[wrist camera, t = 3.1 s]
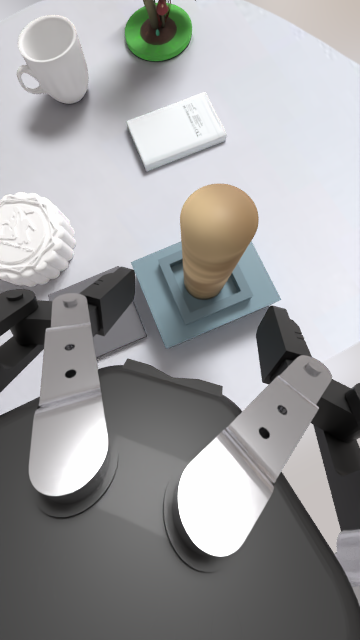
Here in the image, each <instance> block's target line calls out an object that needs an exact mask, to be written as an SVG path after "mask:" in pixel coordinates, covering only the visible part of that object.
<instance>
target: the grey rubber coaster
mask: <svg viewBox="0 0 360 640" xmlns="http://www.w3.org/2000/svg"><path fill="white" fill-rule="evenodd" d="M119 268H120V267H119V266H117V267H115V268H112V269H110V270H108V271H105V272H103V273H100V274H98V275H96V276H93V277H91V278H88V279H86V280H84V281H81V282H79V283H76V284H74V285H72V286H69V287H67V288H65V289H62V290H60V291H57V292H55V293H53V294H50V295H48V297H49V300H50V301H53V300H54V299H55V298H56V297H58V296H60V295H63V294H67V293H77V294H79V293H80V292H82V291H83V290H84V289H86V288H87V287H88V286H90V285H91V284H93V283H94V282H95V281H96V280H98V279H99V278H100V277H101V276H103V275H105V274H108V273H114V272H115V271H116V270H117V269H119ZM146 336H147V335H146V333H145V330H144V328H143V325H142V323H141V320H140V317H139V315H138V312H137V310H136V307H135V305H134V302H133V301H132V303H131V304H130V305H129V307H128V308H127V309H126V310H125V312H124V313H123V314H122V315H121V316H120V318H119V319H118V320H117V321H116V323H115V324H114V325H113V326H112V328H111V329H110V330H109V331H108V333H107V334H106V335H105V336H101V335H97V334H96V335H95V336H94V337H93V340H94V346H95V352H96V357H99V356H101V355H104V354H106V353H108V352H111V351H113V350H115V349H118V348H120V347H122V346H125V345H127V344H130V343H132V342H134V341H137V340H139V339H141V338H144V337H146Z"/></svg>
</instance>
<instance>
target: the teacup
mask: <svg viewBox="0 0 360 640" xmlns="http://www.w3.org/2000/svg"><path fill="white" fill-rule="evenodd" d="M18 49H19V51H20V53H21V55H22V56H23V58H24V60H25V61H26V64H27V65H22V66H20V67H19V68H18V70H17V77H18V80H19V82H20V84H21V86H22V87H23V88H24V89H25V90H26V91H27V92H29V93H32V94H48V95H50V96H51V97H53V98H54V99H56V100H57V101H59V102H62V103H67V104H72V103H76V102H78V101H80V100H81V99H82V98H83V96H84V95H85V93H86V91H87V88H88V69H87V64H86V61H85V57H84V54H83V50H82V47H81V44H80V41H79V38H78V35H77V32H76V29H75V26H74V25H73V23H72V22H71V21H70V20H69V19H67V18H65V17H63V16H59V15H47V16H43V17H40V18H37V19H35V20H33V21H32V22H30V23H29V24H28V25H27V26H26V27H25V28H24V29H23V30H22V32H21V33H20V36H19V38H18ZM23 73H27V74H29V75H31V76H32V77H34V78H35V79H36V80H37V81H38V82H39V87H37V88H35V89H30V88H28V87H26V86H25V85H24V84H23V82H22V79H21V75H22V74H23Z"/></svg>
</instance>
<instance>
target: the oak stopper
mask: <svg viewBox="0 0 360 640" xmlns="http://www.w3.org/2000/svg"><path fill="white" fill-rule="evenodd" d="M180 226H181V242H182V258H183V274H184V285H185V288H186V290H187V292H188V293H189V294H190V295H191V296H193V297H194V298H196V299H200V300H208V299H212V298H214V297H215V296H217V295H218V294H219V293H220V292H221V290H222V288H223V287H224V285H225V283H226V282H227V280H228V278H229V277H230V275H231V273H232V272H233V270H234V268H235V267H236V265H237V263H238V262H239V260H240V259H241V257H242V255H243V254H244V252H245V250H246V249H247V247H248V245H249V244H250V242H251V240H252V239H253V237H254V235H255V233H256V231H257V227H258V212H257V208H256V206H255V204H254V202H253V201H252V199H251V198H250V197H249V196H248V195H247V194H246V193H245V192H244V191H242V190H241V189H239V188H237V187H234V186H231V185H228V184H211V185H207V186H204V187H202V188H200V189H198V190H197V191H195V192H194V193H193V194H191V195H190V196H189V198H188V199H187V200H186V202H185V203H184V205H183V208H182V210H181V215H180Z"/></svg>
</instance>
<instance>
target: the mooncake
mask: <svg viewBox="0 0 360 640" xmlns="http://www.w3.org/2000/svg"><path fill="white" fill-rule="evenodd" d="M74 235H75V231H74V229H73V228H72V227H71V226H70V221H69V220H68V219H67V217H66V216H65V215H64V214H63V213H62V212H61V211H60V210H59V209H58V208H57V207H56V206H54V205H53V204H52V203H51V202H50V201H49V200H48V199H47V198H44V197H40V196H39V195H37V194H35V193H30V194H28V195H27V194H26V193H24V192H18V193H16V194H15V195H11V194H8V195H5V196H4V197H3V198H2V200H0V279H1V280H4V281H7V282H10V283H13V284H16V285H19V286H22V285H26V286H29V287H33V286H36V285H37V284H41V285H43V284H46V283H48V282H49V280H50V279H55V278H57V277H58V276H59V275H60V271H64V270H65V269H66V268H67V267H68V265H69V262H68V261H69V260H71V259H72V258H73V256H74V251H73V249H74V248H75V246H76V240H75V239H74V238H73V237H74Z"/></svg>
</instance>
